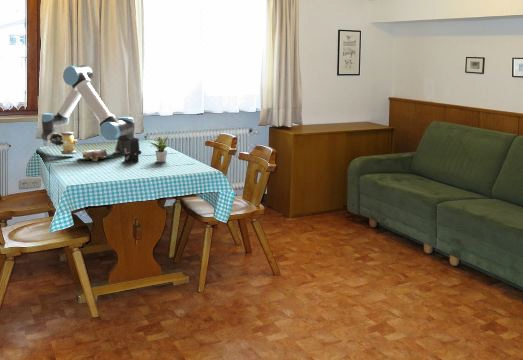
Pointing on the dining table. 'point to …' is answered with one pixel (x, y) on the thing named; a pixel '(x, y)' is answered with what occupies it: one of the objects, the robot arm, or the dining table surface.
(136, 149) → the scope
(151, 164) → the dining table surface
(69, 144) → the yellow thread spool
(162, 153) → the house plant
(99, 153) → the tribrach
